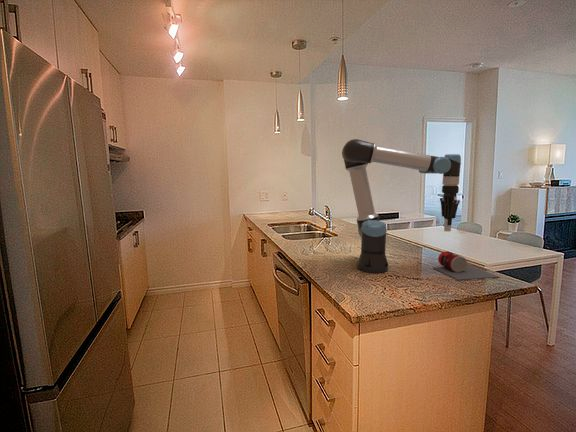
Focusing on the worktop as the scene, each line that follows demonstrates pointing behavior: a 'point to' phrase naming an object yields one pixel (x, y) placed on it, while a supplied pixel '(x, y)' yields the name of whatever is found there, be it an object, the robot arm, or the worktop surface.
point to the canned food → (452, 261)
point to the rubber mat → (466, 273)
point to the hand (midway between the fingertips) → (447, 231)
